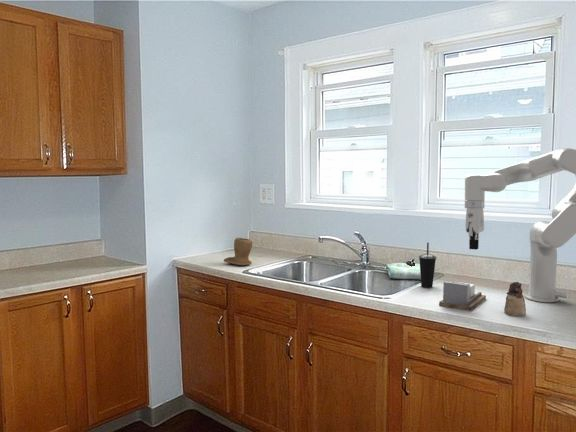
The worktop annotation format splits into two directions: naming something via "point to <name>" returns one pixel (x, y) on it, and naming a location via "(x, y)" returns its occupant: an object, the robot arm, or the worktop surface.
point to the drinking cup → (427, 269)
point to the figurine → (515, 301)
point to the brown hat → (241, 252)
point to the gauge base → (473, 302)
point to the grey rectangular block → (456, 293)
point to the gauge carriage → (471, 289)
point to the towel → (404, 271)
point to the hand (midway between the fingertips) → (473, 248)
